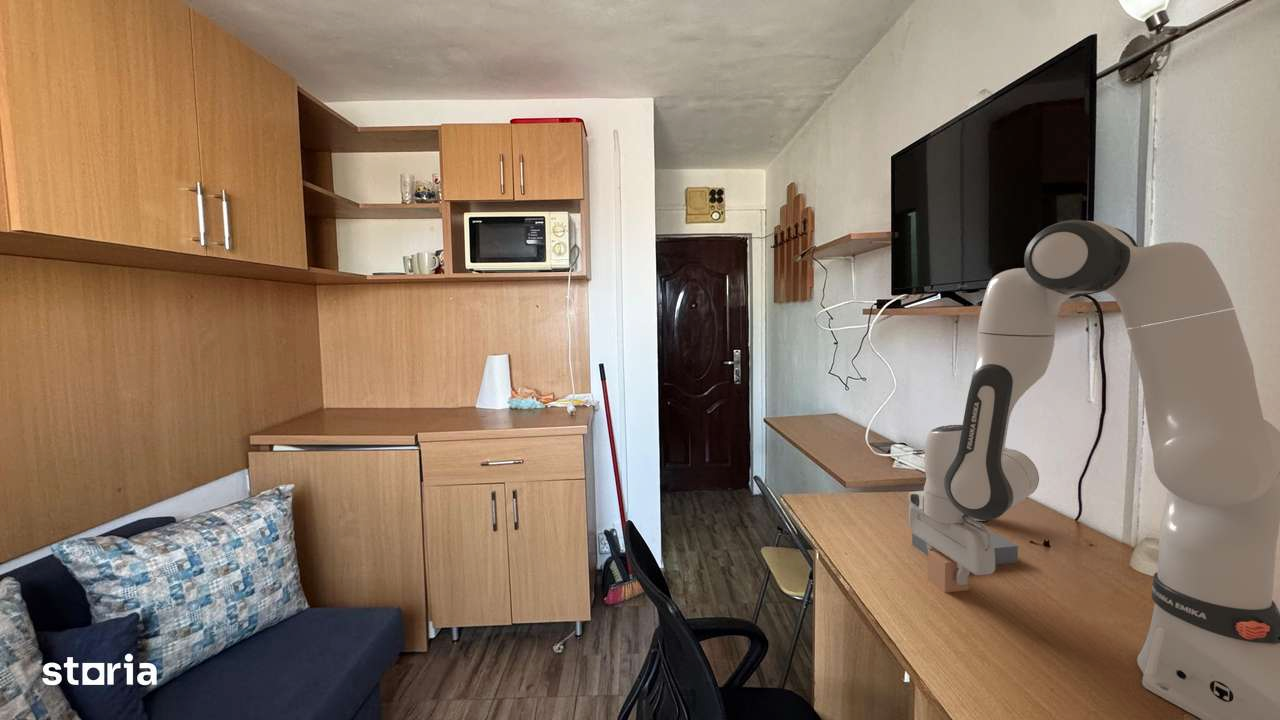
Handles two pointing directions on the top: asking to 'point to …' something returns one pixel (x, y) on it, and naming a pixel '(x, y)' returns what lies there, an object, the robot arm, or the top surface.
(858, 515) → the top surface
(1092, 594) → the top surface
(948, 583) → the block
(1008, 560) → the grey flat slab
